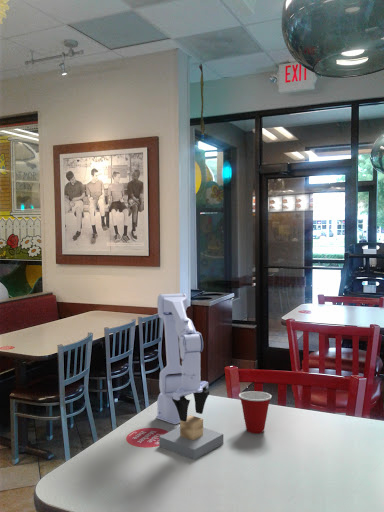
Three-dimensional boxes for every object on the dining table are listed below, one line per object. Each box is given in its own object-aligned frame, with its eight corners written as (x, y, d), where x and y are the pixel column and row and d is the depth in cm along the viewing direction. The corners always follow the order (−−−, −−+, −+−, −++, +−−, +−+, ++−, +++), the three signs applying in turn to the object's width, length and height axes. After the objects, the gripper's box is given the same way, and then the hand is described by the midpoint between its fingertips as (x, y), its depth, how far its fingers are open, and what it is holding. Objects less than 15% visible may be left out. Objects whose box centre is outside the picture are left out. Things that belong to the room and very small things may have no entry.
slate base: (159, 446, 145) (159, 436, 145) (189, 431, 156) (188, 422, 156) (194, 460, 136) (194, 449, 136) (223, 443, 147) (223, 433, 147)
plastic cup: (270, 423, 162) (270, 389, 161) (272, 437, 151) (272, 400, 150) (238, 422, 163) (238, 388, 162) (238, 436, 152) (238, 399, 151)
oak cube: (180, 435, 145) (180, 419, 145) (190, 430, 149) (190, 415, 149) (192, 440, 142) (192, 424, 142) (203, 434, 146) (203, 419, 146)
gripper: (185, 381, 137) (185, 427, 137) (215, 370, 148) (216, 412, 148) (167, 376, 141) (167, 421, 142) (198, 366, 152) (198, 407, 153)
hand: (191, 416), depth 145 cm, fingers open, 7 cm apart
